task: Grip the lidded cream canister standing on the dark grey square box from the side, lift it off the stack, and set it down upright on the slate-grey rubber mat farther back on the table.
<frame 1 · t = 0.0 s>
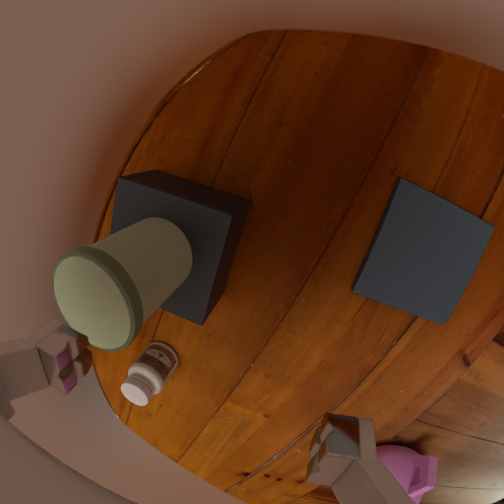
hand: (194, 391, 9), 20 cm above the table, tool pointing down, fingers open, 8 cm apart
pill bottle: (163, 353, 36), on the table
teapot: (379, 463, 36), on the table
lidded cream canister: (158, 253, 24), point 6 cm above the table, touching dark grey square box
dark grey square box: (188, 233, 29), on the table, touching lidded cream canister
mat: (425, 255, 25), on the table
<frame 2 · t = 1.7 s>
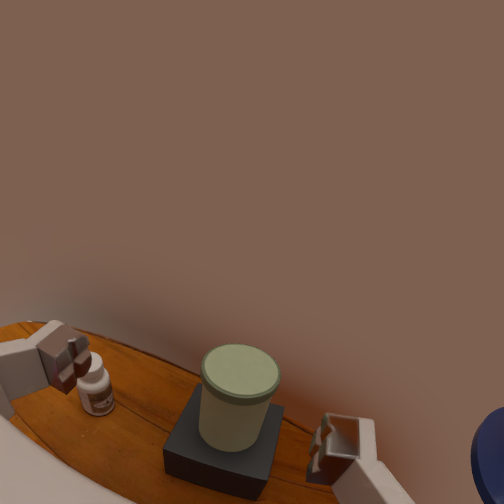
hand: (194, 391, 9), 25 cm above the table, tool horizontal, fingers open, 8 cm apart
pill bottle: (98, 404, 32), on the table
lidded cream canister: (228, 428, 27), point 6 cm above the table, touching dark grey square box
dark grey square box: (222, 455, 29), on the table, touching lidded cream canister
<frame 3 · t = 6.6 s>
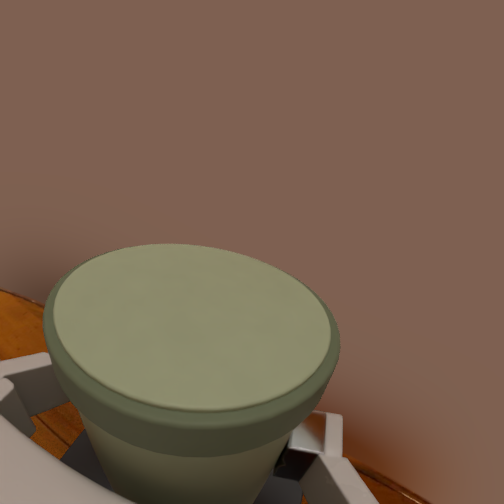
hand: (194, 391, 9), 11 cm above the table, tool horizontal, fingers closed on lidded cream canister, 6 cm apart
lidded cream canister: (183, 477, 10), point 6 cm above the table, touching dark grey square box, gripper
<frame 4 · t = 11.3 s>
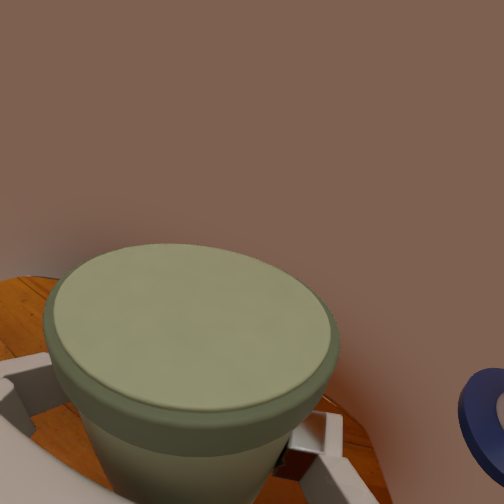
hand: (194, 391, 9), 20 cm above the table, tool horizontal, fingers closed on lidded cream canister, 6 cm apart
lidded cream canister: (183, 477, 10), point 15 cm above the table, touching gripper
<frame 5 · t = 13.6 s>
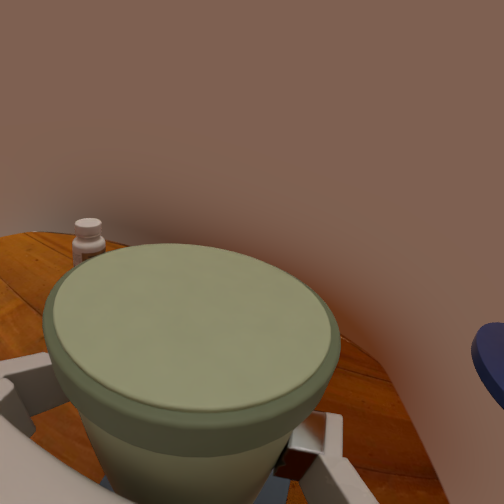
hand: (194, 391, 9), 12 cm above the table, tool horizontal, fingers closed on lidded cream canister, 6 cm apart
pill bottle: (90, 280, 36), on the table
lidded cream canister: (183, 477, 10), point 7 cm above the table, touching gripper
when the fingers open (6 cm above the table, at t = 15.9 s): lidded cream canister stays where it is, resting on mat.
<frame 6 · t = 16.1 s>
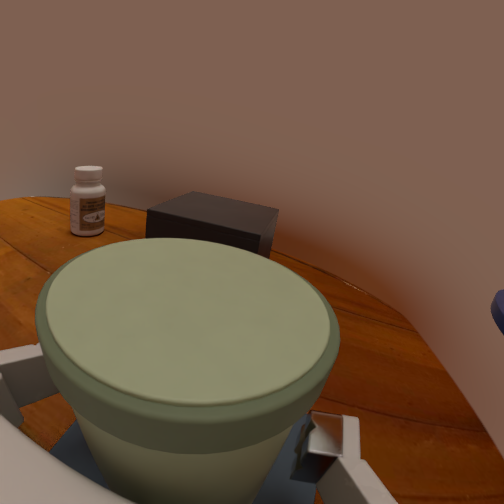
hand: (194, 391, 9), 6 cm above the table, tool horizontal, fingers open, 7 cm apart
pill bottle: (87, 232, 34), on the table
lidded cream canister: (181, 476, 10), point 1 cm above the table, touching mat
dark grey square box: (212, 265, 31), on the table
mat: (182, 483, 10), on the table
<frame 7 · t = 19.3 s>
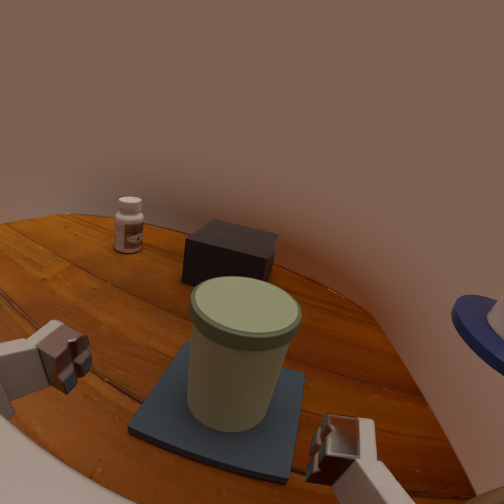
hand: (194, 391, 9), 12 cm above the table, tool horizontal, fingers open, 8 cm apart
pill bottle: (128, 249, 45), on the table
lidded cream canister: (227, 401, 21), point 1 cm above the table, touching mat
dark grey square box: (229, 277, 42), on the table
mat: (226, 408, 21), on the table
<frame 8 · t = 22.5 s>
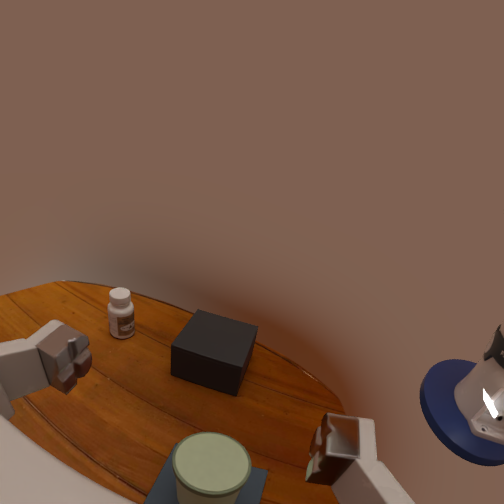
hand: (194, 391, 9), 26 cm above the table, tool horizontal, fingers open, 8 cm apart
pill bottle: (122, 332, 48), on the table
lidded cream canister: (206, 495, 24), point 1 cm above the table, touching mat
dark grey square box: (213, 364, 45), on the table
mat: (206, 498, 24), on the table
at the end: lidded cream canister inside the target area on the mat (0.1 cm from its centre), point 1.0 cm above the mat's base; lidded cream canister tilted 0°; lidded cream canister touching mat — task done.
